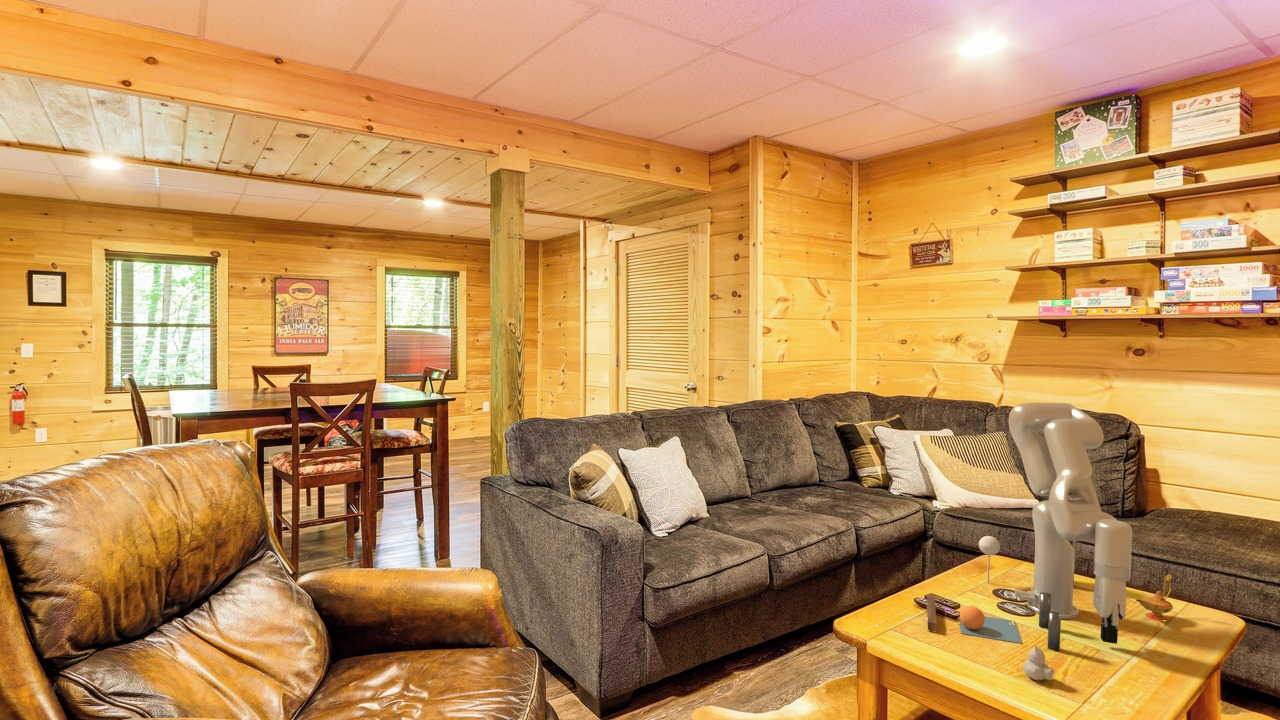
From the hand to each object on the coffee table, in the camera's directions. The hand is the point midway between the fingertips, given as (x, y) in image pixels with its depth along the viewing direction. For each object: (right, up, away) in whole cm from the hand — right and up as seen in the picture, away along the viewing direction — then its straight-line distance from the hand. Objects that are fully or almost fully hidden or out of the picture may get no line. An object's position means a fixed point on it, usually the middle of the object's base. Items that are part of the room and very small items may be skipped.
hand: (1108, 641), depth 166 cm
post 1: (-9, -1, +11) cm, 15 cm away
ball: (-30, +2, +10) cm, 31 cm away
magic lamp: (+24, -1, +17) cm, 30 cm away
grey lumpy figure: (-27, -2, -16) cm, 31 cm away
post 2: (-15, -1, -1) cm, 15 cm away
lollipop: (-9, 0, +42) cm, 42 cm away
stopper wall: (-38, 0, +16) cm, 41 cm away
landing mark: (-25, -1, +11) cm, 27 cm away
